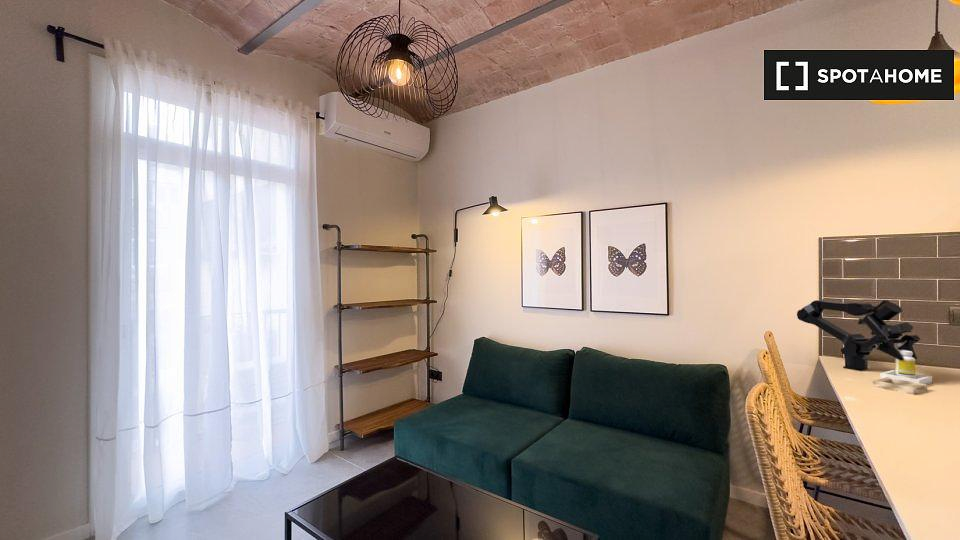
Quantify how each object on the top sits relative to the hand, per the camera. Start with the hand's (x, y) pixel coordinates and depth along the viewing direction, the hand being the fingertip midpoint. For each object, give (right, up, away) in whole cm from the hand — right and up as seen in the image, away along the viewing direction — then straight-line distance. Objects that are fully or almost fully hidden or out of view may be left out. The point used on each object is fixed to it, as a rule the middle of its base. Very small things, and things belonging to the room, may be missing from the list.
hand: (909, 359), depth 154 cm
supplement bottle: (0, -7, +1) cm, 7 cm away
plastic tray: (0, -9, +1) cm, 9 cm away
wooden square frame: (-12, -9, -7) cm, 16 cm away
